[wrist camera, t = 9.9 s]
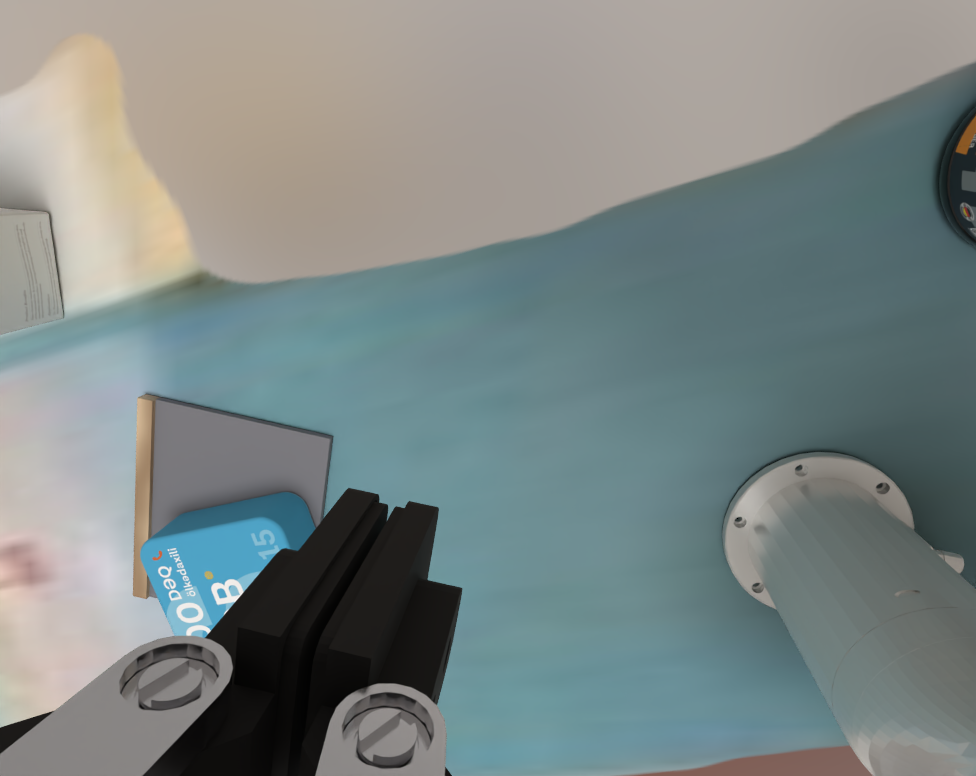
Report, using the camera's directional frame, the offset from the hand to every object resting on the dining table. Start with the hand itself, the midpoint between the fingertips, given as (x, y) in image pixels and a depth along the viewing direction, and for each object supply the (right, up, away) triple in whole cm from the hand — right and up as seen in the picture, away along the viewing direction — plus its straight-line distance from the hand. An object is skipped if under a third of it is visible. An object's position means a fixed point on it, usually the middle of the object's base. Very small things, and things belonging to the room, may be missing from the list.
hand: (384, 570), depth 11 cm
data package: (-11, -11, +36) cm, 39 cm away
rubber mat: (-18, -7, +39) cm, 44 cm away
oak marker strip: (-26, -6, +39) cm, 48 cm away
